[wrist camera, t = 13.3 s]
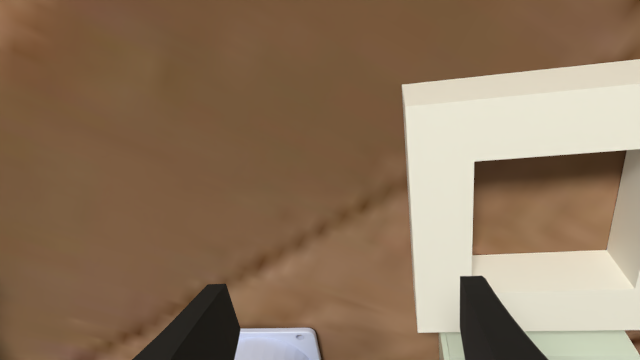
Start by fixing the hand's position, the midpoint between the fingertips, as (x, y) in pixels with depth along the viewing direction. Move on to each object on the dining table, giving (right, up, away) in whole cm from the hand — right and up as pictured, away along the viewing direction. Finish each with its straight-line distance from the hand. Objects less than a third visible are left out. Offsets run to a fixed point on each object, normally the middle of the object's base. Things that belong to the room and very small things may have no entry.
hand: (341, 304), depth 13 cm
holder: (+11, +3, +9) cm, 14 cm away
